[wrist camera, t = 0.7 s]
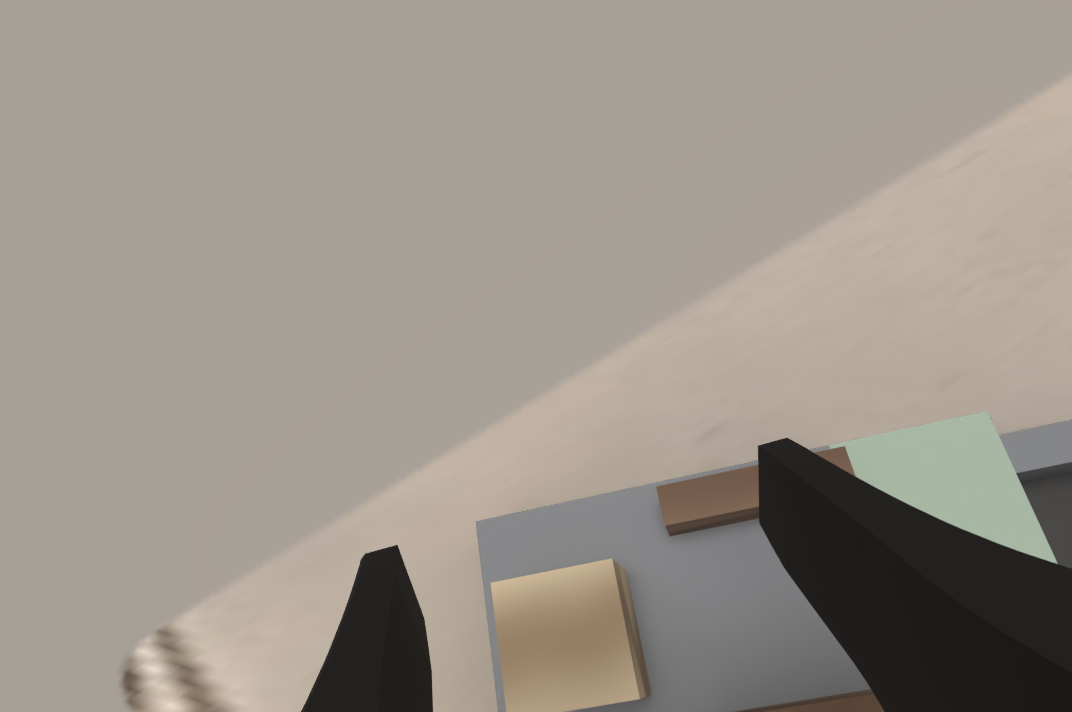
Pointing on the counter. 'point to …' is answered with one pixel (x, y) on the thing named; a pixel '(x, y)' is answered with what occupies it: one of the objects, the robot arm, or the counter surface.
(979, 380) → the counter surface
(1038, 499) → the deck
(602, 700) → the maple block
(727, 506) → the brown rectangular blocks
